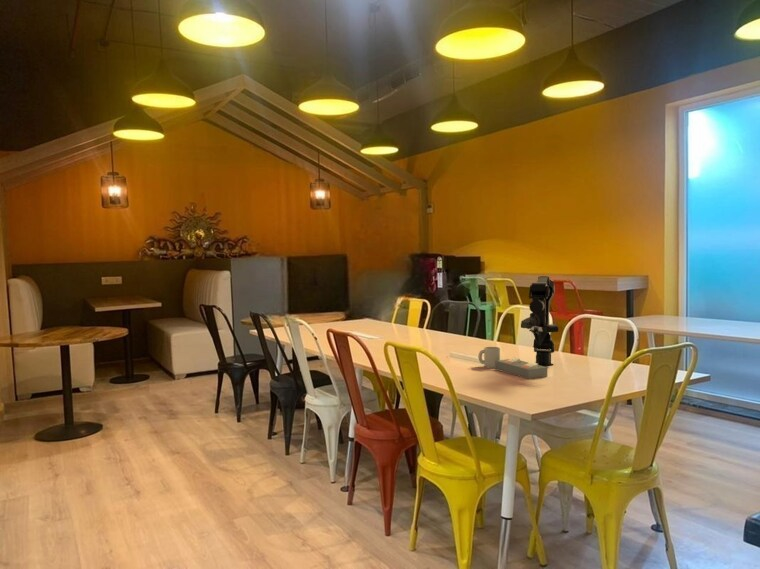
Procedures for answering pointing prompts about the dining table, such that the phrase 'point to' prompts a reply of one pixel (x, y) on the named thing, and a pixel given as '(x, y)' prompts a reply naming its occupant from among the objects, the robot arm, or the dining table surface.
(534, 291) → the robot arm
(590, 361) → the dining table surface
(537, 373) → the grey rocker switch panel
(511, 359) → the rocker
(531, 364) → the rocker
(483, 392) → the dining table surface
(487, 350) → the cup
